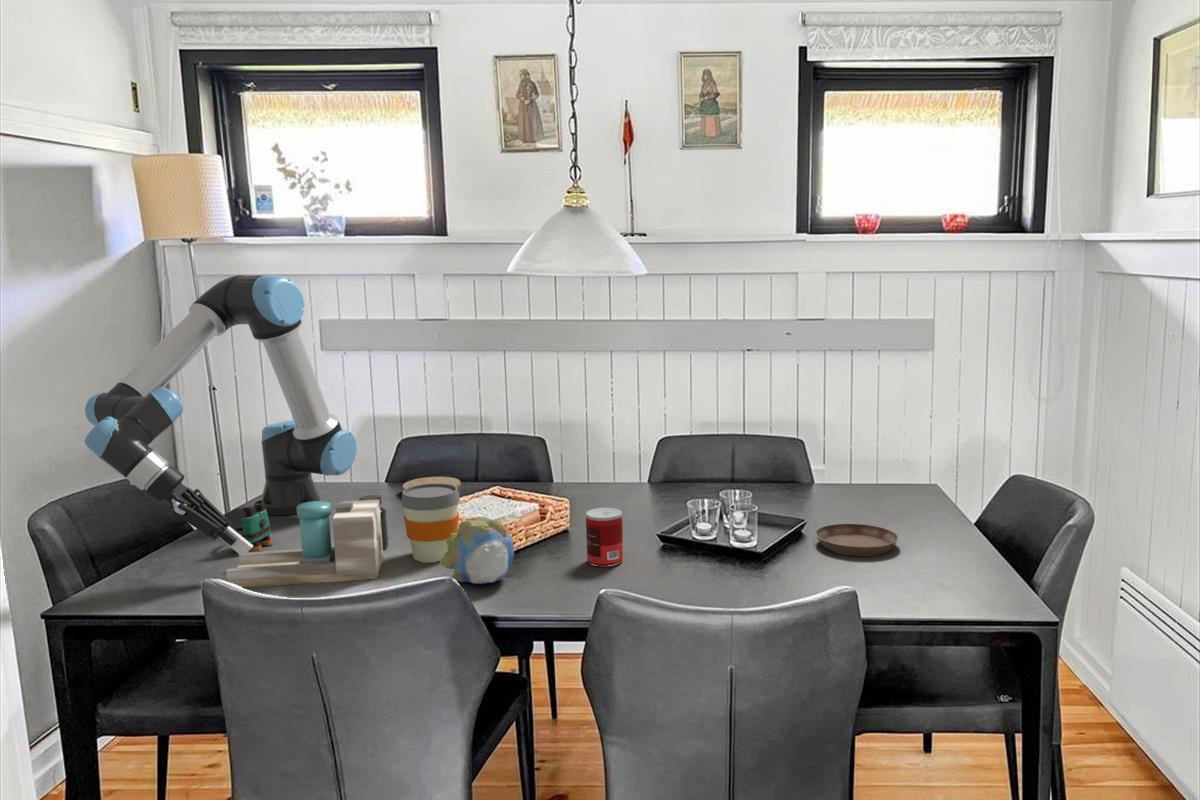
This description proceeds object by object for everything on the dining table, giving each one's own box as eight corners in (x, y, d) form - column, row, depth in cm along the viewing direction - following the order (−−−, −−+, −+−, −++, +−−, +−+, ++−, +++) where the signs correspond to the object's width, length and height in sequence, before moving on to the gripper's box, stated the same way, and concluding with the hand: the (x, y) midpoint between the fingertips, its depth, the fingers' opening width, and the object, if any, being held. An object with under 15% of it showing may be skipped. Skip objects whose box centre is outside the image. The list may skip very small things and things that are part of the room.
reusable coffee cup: (436, 568, 203) (432, 500, 201) (392, 559, 210) (388, 493, 207) (473, 551, 214) (470, 486, 211) (431, 543, 220) (428, 480, 218)
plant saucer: (833, 530, 223) (833, 518, 223) (908, 543, 213) (909, 529, 213) (802, 551, 209) (802, 538, 209) (881, 565, 199) (882, 551, 199)
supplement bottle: (395, 545, 220) (392, 494, 218) (376, 554, 214) (373, 502, 212) (371, 542, 222) (367, 492, 220) (351, 550, 216) (348, 499, 214)
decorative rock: (490, 517, 186) (511, 499, 200) (417, 538, 189) (443, 519, 204) (513, 584, 187) (532, 561, 201) (440, 604, 190) (464, 580, 205)
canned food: (627, 557, 207) (626, 508, 206) (616, 569, 200) (615, 519, 198) (594, 554, 210) (593, 506, 208) (582, 566, 203) (580, 516, 201)
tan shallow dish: (392, 494, 265) (391, 484, 265) (440, 483, 276) (440, 473, 275) (423, 505, 254) (422, 494, 253) (472, 493, 264) (472, 483, 264)
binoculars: (234, 501, 225) (272, 498, 222) (242, 544, 226) (280, 541, 224) (212, 511, 216) (251, 508, 214) (220, 556, 217) (259, 553, 215)
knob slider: (304, 559, 206) (300, 501, 203) (337, 557, 206) (332, 499, 204) (298, 571, 198) (293, 511, 196) (331, 569, 199) (327, 509, 197)
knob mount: (242, 567, 207) (236, 502, 205) (383, 558, 210) (379, 495, 208) (226, 588, 194) (220, 519, 192) (376, 579, 198) (372, 511, 195)
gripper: (155, 483, 202) (243, 554, 207) (133, 499, 189) (228, 574, 194) (179, 457, 202) (266, 529, 206) (159, 472, 189) (253, 548, 194)
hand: (248, 551), depth 200 cm, fingers closed
